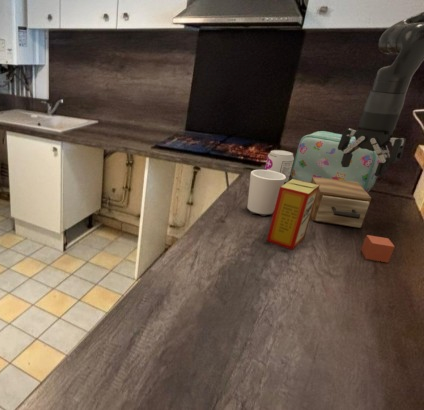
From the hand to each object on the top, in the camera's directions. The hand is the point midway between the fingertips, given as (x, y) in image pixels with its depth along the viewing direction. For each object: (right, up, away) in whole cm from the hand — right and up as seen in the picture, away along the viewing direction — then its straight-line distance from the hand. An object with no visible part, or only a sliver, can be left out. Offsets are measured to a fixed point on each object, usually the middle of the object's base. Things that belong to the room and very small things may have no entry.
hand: (360, 171), depth 98 cm
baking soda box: (-20, -19, +1) cm, 28 cm away
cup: (-19, -12, +17) cm, 28 cm away
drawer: (+1, -13, +12) cm, 18 cm away
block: (-2, -22, -7) cm, 23 cm away
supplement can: (-7, -5, +34) cm, 35 cm away
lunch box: (+16, -4, +37) cm, 41 cm away
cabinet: (+3, -12, +16) cm, 20 cm away
